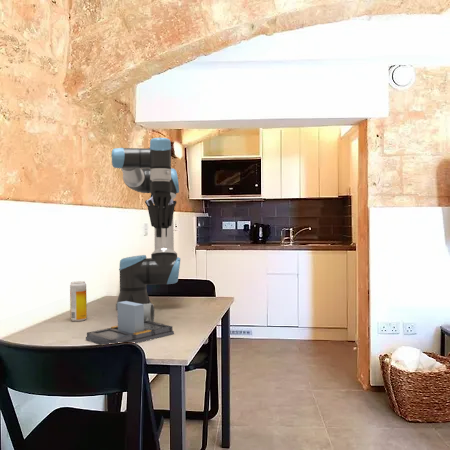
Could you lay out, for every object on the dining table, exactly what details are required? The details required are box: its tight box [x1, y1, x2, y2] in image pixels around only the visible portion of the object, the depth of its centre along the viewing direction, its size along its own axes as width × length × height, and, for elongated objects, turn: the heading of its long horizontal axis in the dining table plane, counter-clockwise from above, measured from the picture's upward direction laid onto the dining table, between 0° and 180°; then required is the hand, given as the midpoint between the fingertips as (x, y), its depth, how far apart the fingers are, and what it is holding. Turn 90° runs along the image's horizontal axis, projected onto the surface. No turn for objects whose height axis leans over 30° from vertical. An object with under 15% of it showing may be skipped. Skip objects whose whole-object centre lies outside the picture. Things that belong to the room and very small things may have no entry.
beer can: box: [69, 280, 88, 322], centre depth 181 cm, size 6×6×15 cm
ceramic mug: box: [144, 302, 155, 322], centre depth 172 cm, size 11×8×8 cm
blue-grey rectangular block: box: [116, 301, 144, 334], centre depth 154 cm, size 10×4×10 cm, turn 46°
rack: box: [85, 321, 175, 345], centre depth 154 cm, size 16×24×3 cm, turn 136°
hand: (161, 246), depth 167 cm, fingers closed
